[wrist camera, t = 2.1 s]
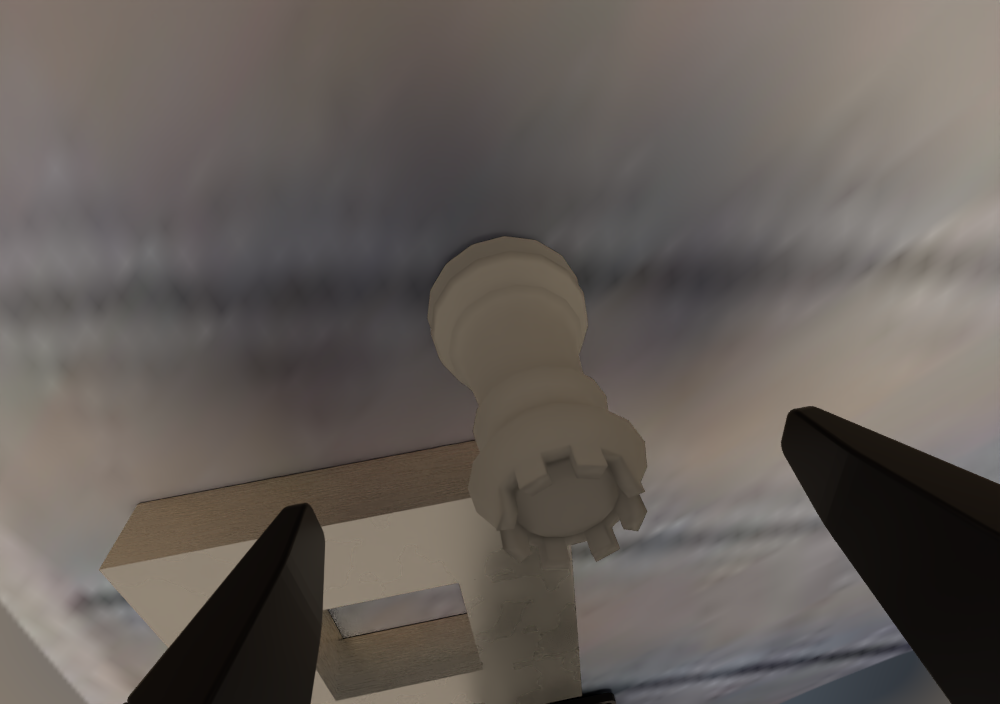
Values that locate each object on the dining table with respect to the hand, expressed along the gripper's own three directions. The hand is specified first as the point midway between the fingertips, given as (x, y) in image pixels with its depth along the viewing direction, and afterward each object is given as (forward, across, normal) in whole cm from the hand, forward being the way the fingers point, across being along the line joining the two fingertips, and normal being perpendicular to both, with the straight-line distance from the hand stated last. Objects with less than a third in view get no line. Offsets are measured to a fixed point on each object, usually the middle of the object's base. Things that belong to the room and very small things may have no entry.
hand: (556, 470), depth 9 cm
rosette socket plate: (+7, +6, +12) cm, 15 cm away
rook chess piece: (+7, 0, 0) cm, 7 cm away
